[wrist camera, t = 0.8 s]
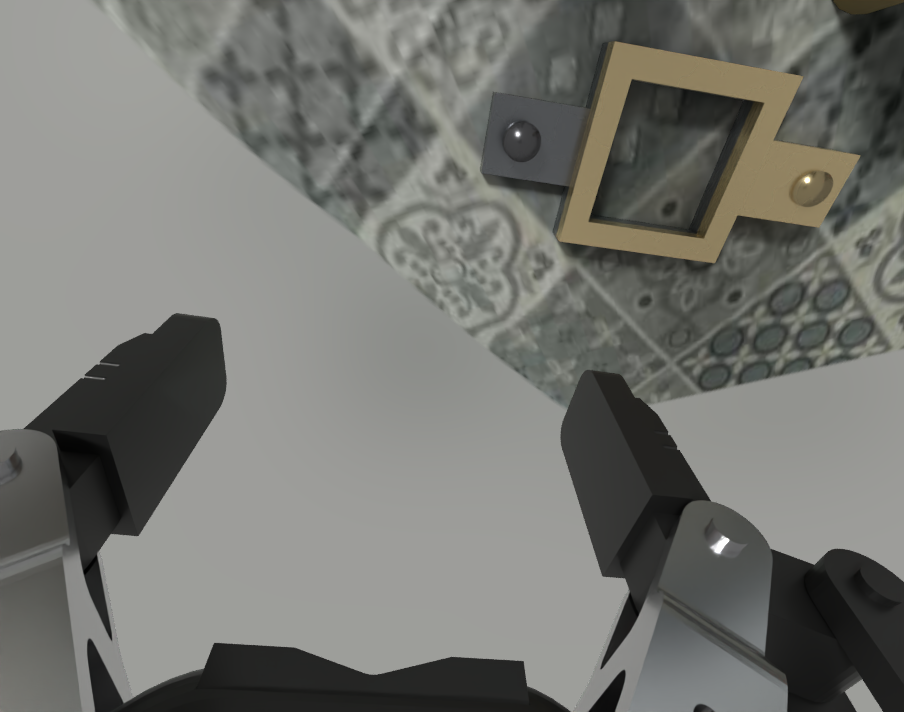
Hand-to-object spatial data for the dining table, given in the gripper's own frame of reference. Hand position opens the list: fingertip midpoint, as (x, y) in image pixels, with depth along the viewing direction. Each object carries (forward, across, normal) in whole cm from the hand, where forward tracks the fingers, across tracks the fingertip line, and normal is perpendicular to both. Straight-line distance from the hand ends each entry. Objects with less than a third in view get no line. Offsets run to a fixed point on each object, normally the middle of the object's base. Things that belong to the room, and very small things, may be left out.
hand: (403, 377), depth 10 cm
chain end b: (+27, -16, -3) cm, 32 cm away
